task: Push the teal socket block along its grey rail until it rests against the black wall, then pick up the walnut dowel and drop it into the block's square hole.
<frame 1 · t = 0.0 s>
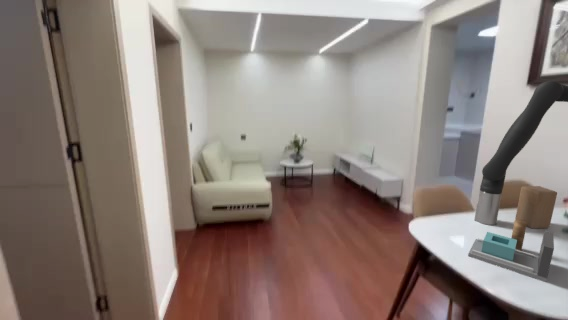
block: (531, 224, 138), on the table
rail base: (506, 259, 108), on the table
dowel: (515, 248, 116), on the table
socket block: (499, 246, 109), point 5 cm above the table, slide at 0.0 cm
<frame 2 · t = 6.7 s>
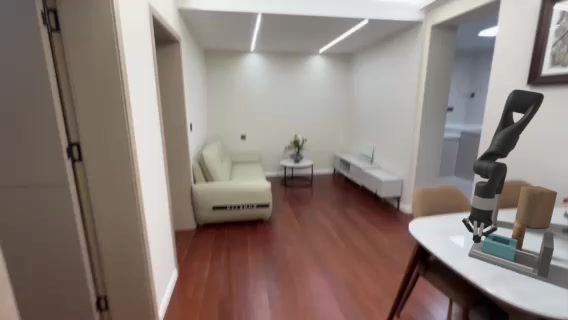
hand: (476, 242, 115), 4 cm above the table, fingers closed
socket block: (499, 246, 109), point 5 cm above the table, slide at 0.2 cm, touching gripper
everything else where it was.
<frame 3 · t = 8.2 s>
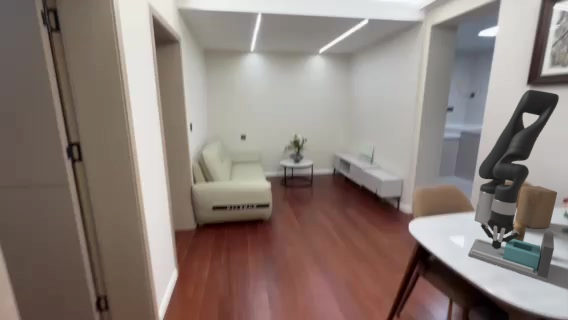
hand: (496, 248, 110), 4 cm above the table, fingers closed
socket block: (521, 253, 104), point 5 cm above the table, slide at 7.0 cm, touching gripper
everything else where it was.
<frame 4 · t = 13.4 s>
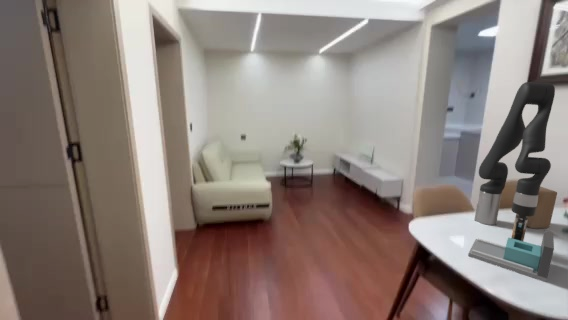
hand: (517, 239, 115), 5 cm above the table, fingers closed on dowel, 4 cm apart
dowel: (515, 248, 116), on the table, touching gripper
socket block: (521, 253, 104), point 5 cm above the table, slide at 7.2 cm
everything else where it was.
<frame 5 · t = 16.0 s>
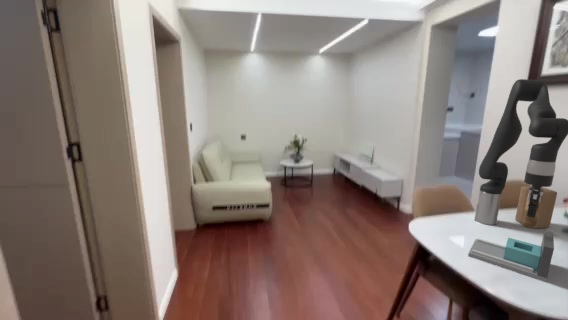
hand: (531, 214, 100), 21 cm above the table, fingers closed on dowel, 4 cm apart
dowel: (529, 226, 101), point 17 cm above the table, touching gripper
everything else where it was.
when the fingers open (10 cm above the table, at t = 18.9 s): dowel drops 3 cm, resting on socket block.
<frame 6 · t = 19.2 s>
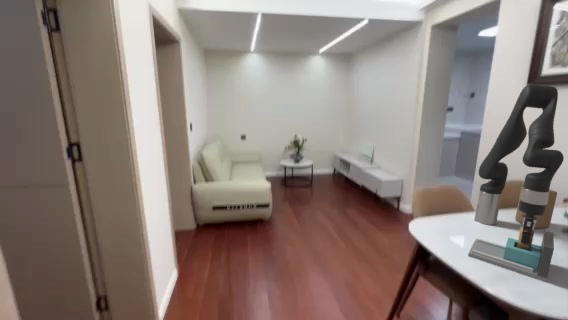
hand: (525, 240, 103), 11 cm above the table, fingers open, 6 cm apart
dowel: (521, 257, 105), point 3 cm above the table, touching socket block
socket block: (521, 253, 104), point 5 cm above the table, slide at 7.2 cm, touching dowel
everything else where it was.
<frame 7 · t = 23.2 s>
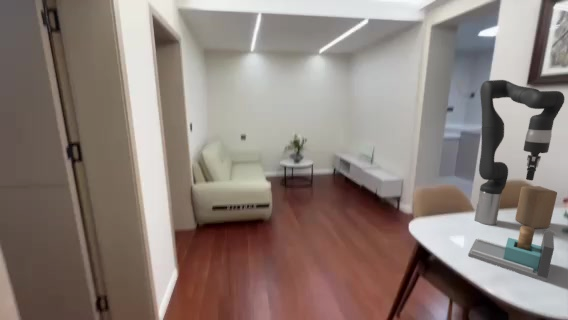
hand: (529, 177, 111), 32 cm above the table, fingers open, 8 cm apart
nothing on the table moved.
at the end: socket block slide at 7.2 cm; dowel 0.1 cm from the target spot, point 2.7 cm above the table; dowel tilted 0° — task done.
